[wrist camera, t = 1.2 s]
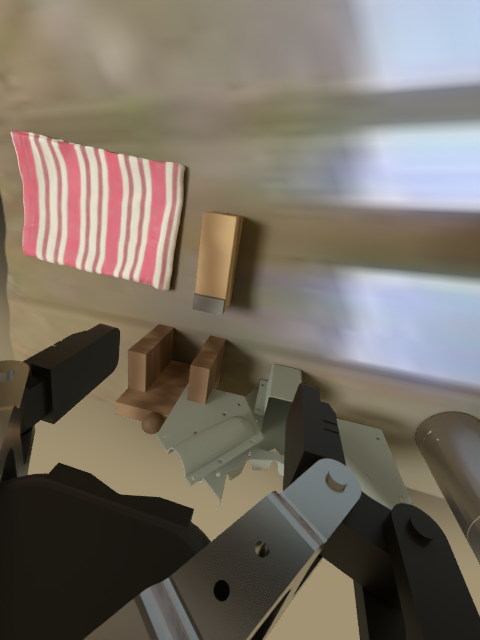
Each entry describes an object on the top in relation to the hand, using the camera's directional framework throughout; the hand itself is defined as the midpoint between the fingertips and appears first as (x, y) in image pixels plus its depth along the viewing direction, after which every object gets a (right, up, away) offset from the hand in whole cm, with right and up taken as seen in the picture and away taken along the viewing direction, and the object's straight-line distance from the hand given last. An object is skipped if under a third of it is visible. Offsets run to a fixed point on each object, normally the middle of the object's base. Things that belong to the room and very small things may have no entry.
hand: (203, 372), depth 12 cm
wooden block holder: (-7, -3, +33) cm, 34 cm away
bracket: (+8, -8, +32) cm, 34 cm away
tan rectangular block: (-1, +11, +27) cm, 29 cm away
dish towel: (-18, +17, +28) cm, 38 cm away
